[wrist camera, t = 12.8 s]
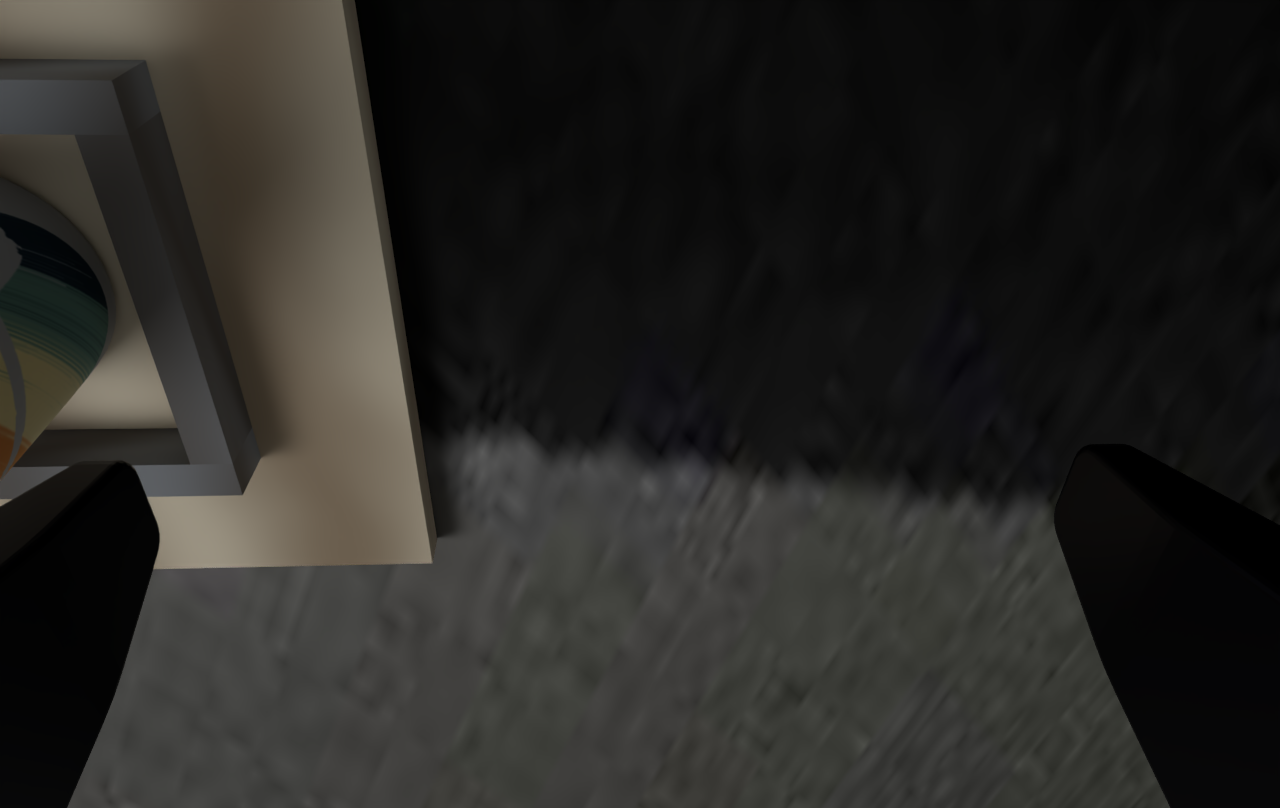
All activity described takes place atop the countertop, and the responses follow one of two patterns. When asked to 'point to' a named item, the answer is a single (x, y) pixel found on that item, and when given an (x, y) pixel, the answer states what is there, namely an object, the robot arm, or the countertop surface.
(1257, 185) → the countertop surface
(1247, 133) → the countertop surface
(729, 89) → the countertop surface
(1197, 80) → the countertop surface
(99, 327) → the lotion bottle
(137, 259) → the port board
